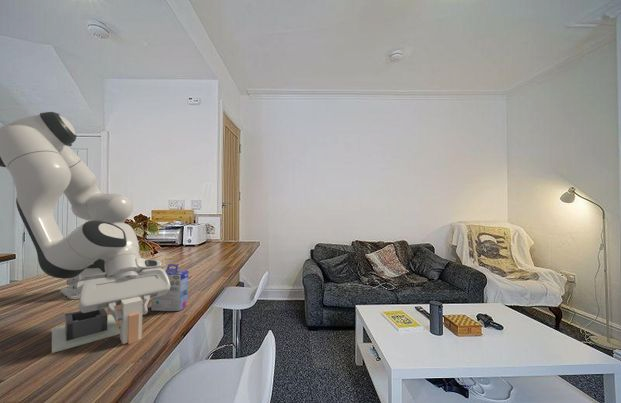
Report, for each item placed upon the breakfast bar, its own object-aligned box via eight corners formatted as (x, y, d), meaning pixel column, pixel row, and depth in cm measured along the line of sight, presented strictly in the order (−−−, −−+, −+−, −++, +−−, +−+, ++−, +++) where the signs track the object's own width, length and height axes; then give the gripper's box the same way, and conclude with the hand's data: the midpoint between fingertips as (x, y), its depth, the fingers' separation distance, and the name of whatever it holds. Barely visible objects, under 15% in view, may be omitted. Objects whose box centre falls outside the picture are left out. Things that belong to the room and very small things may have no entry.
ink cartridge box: (188, 305, 89) (189, 263, 89) (180, 311, 83) (181, 267, 84) (160, 304, 89) (161, 263, 89) (150, 311, 84) (151, 267, 84)
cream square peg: (120, 338, 67) (120, 299, 67) (138, 333, 70) (138, 296, 70) (123, 345, 63) (124, 305, 63) (142, 339, 66) (143, 301, 66)
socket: (51, 331, 70) (52, 313, 70) (111, 317, 79) (112, 301, 79) (51, 353, 60) (52, 331, 60) (120, 333, 69) (120, 315, 69)
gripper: (76, 271, 64) (78, 323, 57) (166, 260, 79) (176, 300, 72) (75, 285, 67) (77, 336, 60) (161, 271, 82) (171, 311, 75)
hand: (132, 316), depth 66 cm, fingers closed on cream square peg, 4 cm apart
